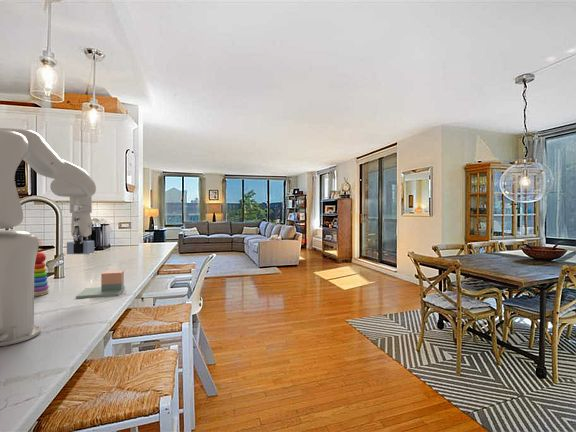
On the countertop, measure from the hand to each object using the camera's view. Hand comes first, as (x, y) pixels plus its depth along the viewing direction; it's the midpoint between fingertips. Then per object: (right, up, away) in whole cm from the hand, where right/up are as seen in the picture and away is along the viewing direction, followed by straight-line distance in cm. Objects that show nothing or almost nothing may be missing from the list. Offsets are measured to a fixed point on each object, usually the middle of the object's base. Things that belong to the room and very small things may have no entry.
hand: (81, 251), depth 120 cm
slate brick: (0, -1, 0) cm, 1 cm away
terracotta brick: (+6, -16, +12) cm, 21 cm away
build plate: (+2, -20, +10) cm, 22 cm away
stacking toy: (-24, -20, +6) cm, 32 cm away
